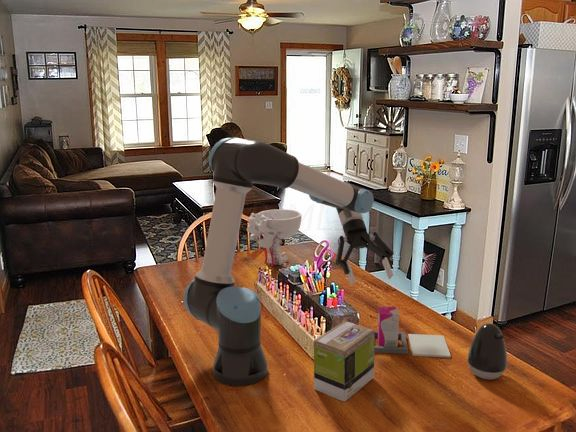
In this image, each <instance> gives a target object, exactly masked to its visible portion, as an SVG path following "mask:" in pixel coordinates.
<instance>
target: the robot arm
mask: <svg viewBox="0 0 576 432" xmlns="http://www.w3.org/2000/svg"><path fill="white" fill-rule="evenodd" d="M208 166H209V167H210V170H211V172H213V176H212V183H213V185H214V186H215V187H216V188H215V189H216V190H215V196H214V199H213V200H214V201H213V206H212V212H211V218H210V223H209V228H208V232H207V239H206V245H205V251H204V256H203V260H202V266H201V269H200V270H199V271H197V272H196V273H195V277H194V279H192V280H191V281H190V284H187V286H186V288H185V289H184V292H183V293H184V294H183V304H184V307H185V309H186V311H187V312H188V313H189V314H190V315H191V316H193V318H195V319H196V320H198V321H200V322H202V323H204V324H206V325H208V326H210V327H211V328H212V329H215V330H216V331H217V336H218V337H217V340H218V349H217V352H216V354H215V359H214V362H213V365H212V370H213V371H212V372H213V373H212V375H213V377H214V378H215V380H216V381H218V382H219V383H221V384H223V385H227V386H232V387H233V386H234V387H243V386H249V385H254V384H256V383H259V382H260V381H262V380H263V379H264V378H265V377H266V376H267V374H268V360H267V358H266V356H265V352H264V350H263V348H262V343H261V341H262V340H261V338H262V337H261V336H262V335H261V329H262V328H261V325H262V324H261V314H262V307H261V302H260V297H259V295H258V294H257V292H255V291H254V290H253V289H251V288H247V287H244V286H242V287H241V286H237V285H236V286H235V282H236V280H235V278H234V276H233V275H232V272H233V271H232V270H233V266H234V259H235V255H236V249H237V245H238V238H239V233H240V226H241V223H242V217H243V212H244V208H245V207H244V206H245V201H246V195H247V193H249V192H250V191H252V190H253V187H254V184H258V185H268V186H272V187H277V188H279V189H283V190H285V189H288V188H290V189H293V190H295V191H298V192H300V193H303V194H306V195H308V196H309V198H310V200H311V201H313V202H315V203H317V204H321V205H325V206H329V207H331V208H335V209H336V212H337V215H338V218H339V221H340V224H341V227H342V230H343V233H344V236H343V235H340V236H339V238H338V239H337V244H338V247H337V252H336V257H335V258H336V259H335V265H336V266H339V265H340V267H341V268H342V270H343V272H344V273H343V274H344V275H347V278H348V280H349V281H348V282H349V283H350V285H353V284H354V283H355V282H356V278H355V275H354V272H353V269H352V266H351V263H350V261H349V262H348V260H349V258H350V256H351V254H352V252H353V250H354V249H355V250H359V249H365V248H366V249H367V250H370V251H371V252H372V253H373V254H375V255H377V256H378V257H379V258H381V259H382V261H381V263H382V265H383V268H384V271H385V274H386V276H387V279H389V280H390V279H392V277H393V276H394V273H393V270H392V267H393V264H392V261H391V259H390V258H391V257H393V255H394V252H393V251H392V250H391V249H390V247H389V246H387V244H386V243H385V242H384V241H383V240H382V239H381V237H379V235H378V233H377V232H376V231H374V232H373V233H368V229H367V226H366V224H365V220H364V218H363V215H362V214H366V213H369V212H370V211H371V210H372V208H373V205H374V203H375V202H374V200H375V199H374V198H375V197H374V194H373V192H371V191H370V190H369V189H365V188H361V187H357V186H354V185H351V184H350V182H348V181H347V180H346V181H342V180H340V179H338V178H335V177H333V176H332V175H329V174H326V173H325V172H322V171H320V170H318V169H315V168H313V167H310V166H309V165H308V166H307V165H306V164H304V163H301V162H299V160H298V159H297V157H296V156H294V155H292V154H289V153H288V152H286V151H284V150H282V149H280V148H278V147H276V146H273V145H271V144H269V143H266V142H265V141H261V140H252V139H248V138H247V139H246V138H239V137H226V138H222V139H220V140H219V141H217V142H216V143H215V144H214V146H212V148H211V150H210V152H209V155H208ZM346 243H348V245H349V246H348V249H347V251H346V253H345V255H344V257H343V252H344V246H345V244H346ZM342 258H343V259H342Z"/></svg>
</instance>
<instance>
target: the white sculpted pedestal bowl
mask: <svg viewBox="0 0 576 432" xmlns="http://www.w3.org/2000/svg"><path fill="white" fill-rule="evenodd" d="M301 223H302V212H300V211H298V210H292V209H286V208H285V209H284V208H283V209H280V208H279V209H276V208H275V209H268V210H262V211H260V212H258V213H254V212H251V214H250V216H249V217H248V225H247V227H246V231H247V232H248V233H249V234H250V236H249V238H250V241H252V240H253V241H255V243H257V244H258V246H259V247H260V248H263V250H264V251H263V252H264V257H265V258H264V259H265V260H264V264H266V263H268V264H271V265H270V267H271V268H273V267H274V265H275V267H277V265H279V266H282V267H284V268H286V267H287V263H286V262H284V261H283V260H286V261H287V260H288V259H289V257H288V256H287V255H286V252H285V251H283V252H281V251H282V249H283V248H282V244H283V242H282V240H287V239H290V238H291V237H293V236H294V235H297V233H298V232H299V229H300V227H301V225H302V224H301ZM267 250H268V252H267ZM284 255H285V256H284Z"/></svg>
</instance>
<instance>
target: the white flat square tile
mask: <svg viewBox="0 0 576 432" xmlns="http://www.w3.org/2000/svg"><path fill="white" fill-rule="evenodd" d="M407 336H408V341H409V346H410V350H411V353H412V354H411V355H412V356H413V357H429V358H431V357H432V358H446V359H448V358H450V359H451V358H452V355H451V353H450V350H449V347H448V345H447V341H446V339H445V337H444V335H439V334H417V333H408V334H407Z"/></svg>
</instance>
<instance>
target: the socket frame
mask: <svg viewBox="0 0 576 432" xmlns="http://www.w3.org/2000/svg"><path fill="white" fill-rule="evenodd" d="M375 338H378V330H375ZM398 339H400V341H401V345H402V346H401V347H400V346H398V347H386V346H379V345H374V353H382V354H399V355H408V354H409V347H408V343H407V338H406V333H405V331H398Z"/></svg>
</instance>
